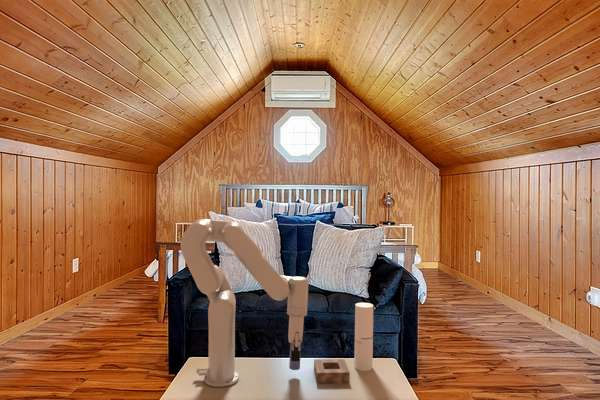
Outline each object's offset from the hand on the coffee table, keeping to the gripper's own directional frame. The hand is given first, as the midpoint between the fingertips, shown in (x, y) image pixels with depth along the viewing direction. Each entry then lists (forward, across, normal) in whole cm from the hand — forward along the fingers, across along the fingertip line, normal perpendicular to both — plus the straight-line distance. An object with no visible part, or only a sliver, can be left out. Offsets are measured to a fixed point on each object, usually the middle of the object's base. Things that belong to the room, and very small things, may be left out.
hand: (295, 357), depth 158 cm
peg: (+4, 0, 0) cm, 4 cm away
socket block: (+7, 0, +14) cm, 16 cm away
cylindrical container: (+6, -8, +28) cm, 30 cm away
